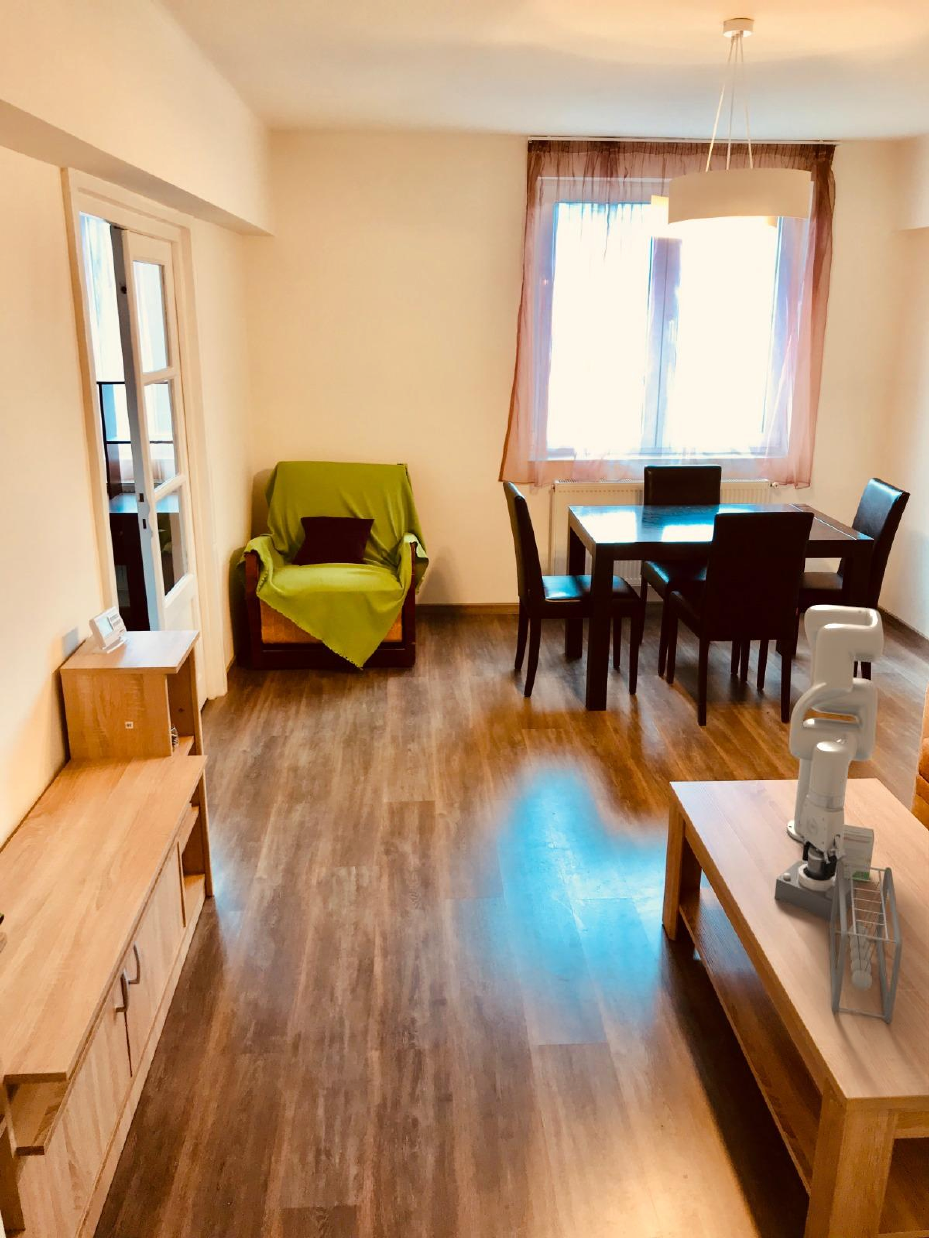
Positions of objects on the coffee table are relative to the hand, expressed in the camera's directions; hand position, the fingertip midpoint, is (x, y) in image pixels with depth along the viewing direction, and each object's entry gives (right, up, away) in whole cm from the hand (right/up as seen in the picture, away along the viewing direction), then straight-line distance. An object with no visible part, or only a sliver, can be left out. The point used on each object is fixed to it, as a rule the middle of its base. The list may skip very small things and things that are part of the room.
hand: (818, 867), depth 219 cm
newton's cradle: (0, -16, -22) cm, 27 cm away
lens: (0, -3, +1) cm, 3 cm away
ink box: (+12, -5, +13) cm, 18 cm away
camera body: (0, -8, +3) cm, 8 cm away
